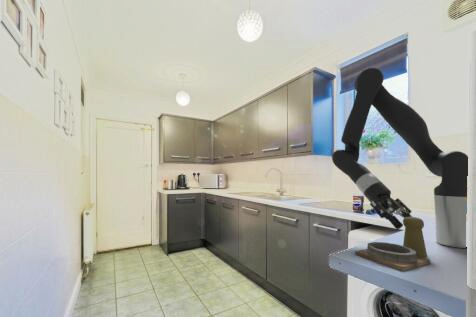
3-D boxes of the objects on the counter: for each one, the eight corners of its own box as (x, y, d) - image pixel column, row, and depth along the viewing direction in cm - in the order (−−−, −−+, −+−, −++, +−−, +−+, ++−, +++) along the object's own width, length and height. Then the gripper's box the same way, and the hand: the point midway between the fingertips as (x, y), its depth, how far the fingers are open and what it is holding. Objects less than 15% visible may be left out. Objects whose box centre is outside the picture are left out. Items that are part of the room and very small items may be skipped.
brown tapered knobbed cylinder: (403, 249, 74) (401, 214, 75) (427, 253, 70) (425, 217, 71) (401, 253, 69) (400, 217, 70) (427, 258, 66) (425, 219, 67)
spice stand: (382, 249, 73) (381, 239, 74) (430, 263, 62) (429, 252, 62) (355, 254, 68) (354, 244, 68) (402, 271, 56) (402, 258, 56)
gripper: (366, 180, 78) (404, 221, 66) (391, 181, 84) (430, 218, 73) (352, 195, 82) (386, 235, 71) (377, 194, 88) (411, 231, 77)
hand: (408, 226), depth 72 cm, fingers open, 8 cm apart
